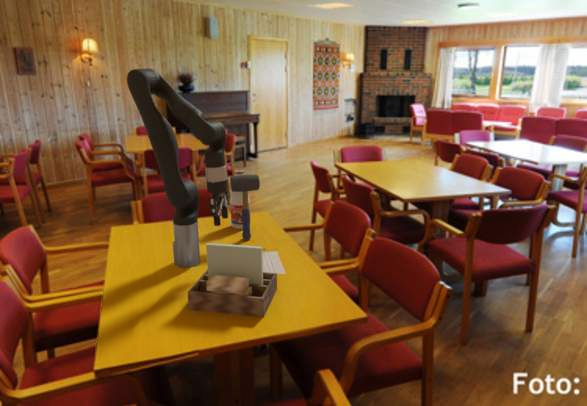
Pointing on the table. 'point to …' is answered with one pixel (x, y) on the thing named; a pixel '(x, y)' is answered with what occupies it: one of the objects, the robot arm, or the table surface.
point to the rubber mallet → (245, 197)
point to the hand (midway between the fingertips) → (221, 221)
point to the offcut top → (227, 284)
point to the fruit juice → (237, 205)
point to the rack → (234, 298)
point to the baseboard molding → (272, 262)
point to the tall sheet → (235, 261)
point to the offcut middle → (247, 293)
